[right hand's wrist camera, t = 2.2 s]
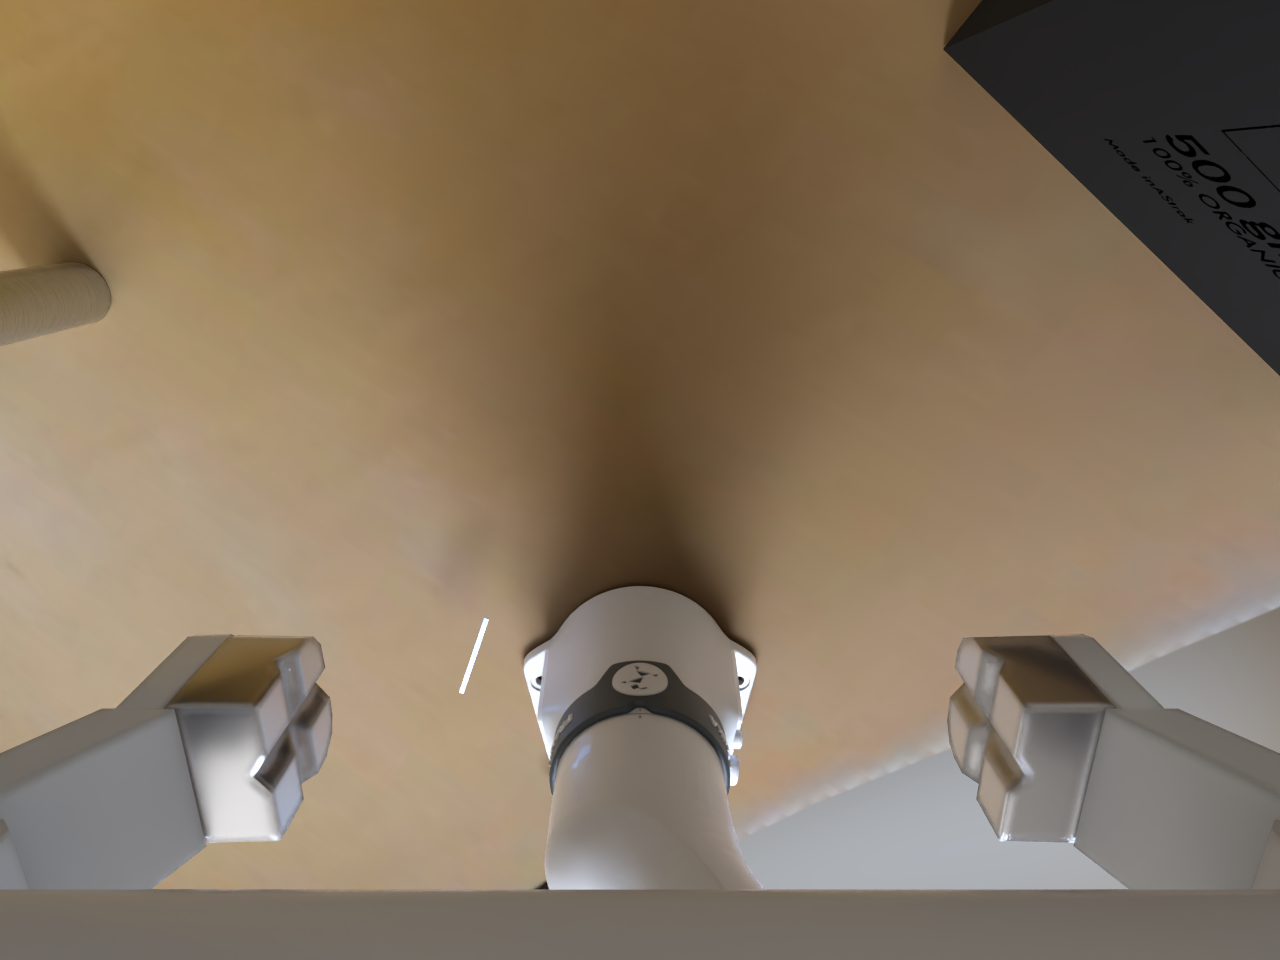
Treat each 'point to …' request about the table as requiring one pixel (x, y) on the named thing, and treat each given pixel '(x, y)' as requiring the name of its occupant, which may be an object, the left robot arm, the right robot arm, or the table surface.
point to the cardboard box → (1157, 128)
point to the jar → (50, 300)
